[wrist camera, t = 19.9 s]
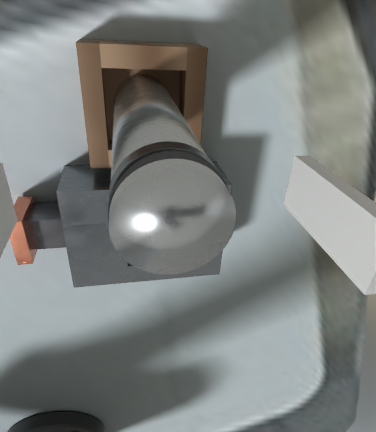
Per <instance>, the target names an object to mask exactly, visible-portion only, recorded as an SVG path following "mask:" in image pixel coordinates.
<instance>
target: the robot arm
mask: <svg viewBox="0 0 376 432" xmlns="http://www.w3.org/2000/svg"><path fill="white" fill-rule="evenodd" d="M284 206H285V207H286V208H287V209H288V210H289V212H290V213H291V214H292V215H293V216H294V217H295V218H296V219H297V220H298V222H299V223H300V224H301V225H302V226H303V227H304V228H305V229H306V230H307V232H308V233H309V234H310V235H311V236H312V237H313V238H314V239H315V240H316V242H317V243H318V244H319V245H320V246H321V247H322V248H323V249H324V250H325V251H326V253H327V254H328V255H329V256H330V257H331V258H332V259H333V260H334V261H335V263H336V264H337V265H338V266H339V267H340V268H341V269H342V270H343V271H344V273H345V274H346V275H347V276H348V277H349V278H350V279H351V280H352V281H353V283H354V284H355V285H356V286H357V287H358V288H359V289H360V290H361V291H362V293H363V294H364V295H369V294H376V203H375V202H374V201H372V200H371V199H370V198H368V197H367V196H365V195H364V194H363V193H361V192H360V191H358V190H357V189H356V188H354V187H353V186H351V185H350V184H349V183H347V182H346V181H344V180H343V179H342V178H340V177H339V176H337V175H336V174H334V173H333V172H332V171H330V170H329V169H327V168H326V167H325V166H323V165H322V164H320V163H319V162H318V161H316V160H315V159H313V158H312V157H311V156H295V159H294V163H293V167H292V171H291V176H290V180H289V184H288V188H287V193H286V197H285V201H284ZM16 222H17V216H16V212H15V209H14V205H13V201H12V197H11V193H10V190H9V186H8V182H7V178H6V175H5V171H4V167H3V163H0V257H1V255H2V253H3V250H4V248H5V246H6V244H7V242H8V240H9V237H10V235H11V233H12V231H13V229H14V227H15V225H16ZM8 432H104V427H103V425H102V423H101V422H100V421H99V420H97V419H96V418H94V417H92V416H89V415H86V414H83V413H77V412H51V413H45V414H40V415H36V416H33V417H30V418H27V419H25V420H23V421H21V422H19V423H17V424H15V425H14V426H13V427H11V428H10V429H9V430H8Z"/></svg>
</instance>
